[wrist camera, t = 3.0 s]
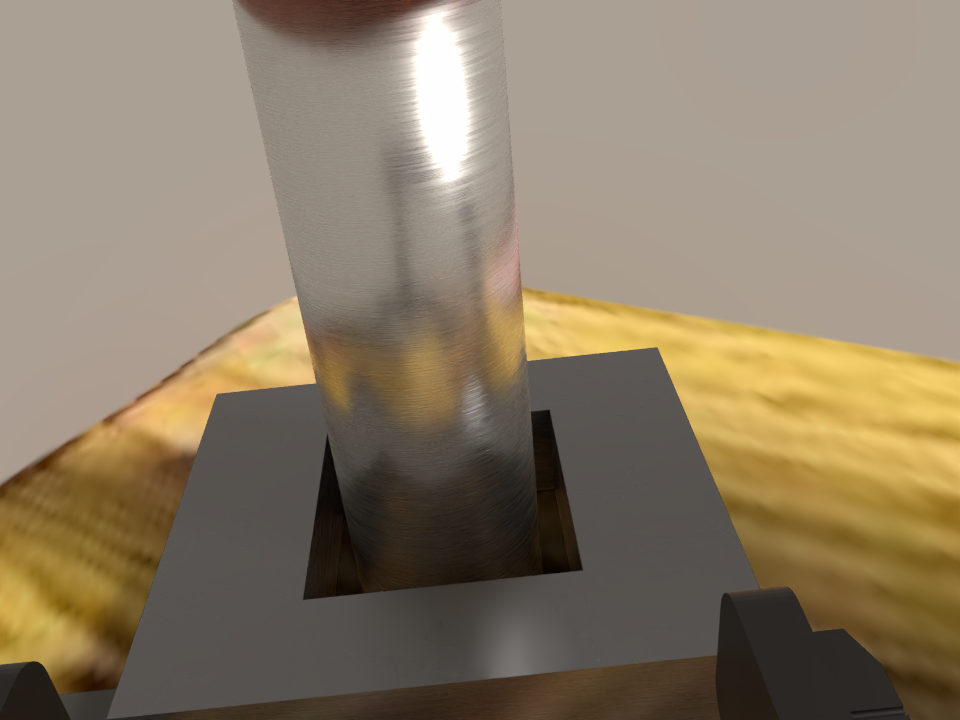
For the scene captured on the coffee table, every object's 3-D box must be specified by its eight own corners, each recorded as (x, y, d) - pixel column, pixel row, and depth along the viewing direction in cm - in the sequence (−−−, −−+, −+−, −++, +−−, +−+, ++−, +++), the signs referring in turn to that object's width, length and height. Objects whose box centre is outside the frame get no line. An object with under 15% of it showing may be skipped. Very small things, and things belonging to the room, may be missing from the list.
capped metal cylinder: (547, 495, 28) (505, -143, 19) (575, 651, 23) (536, -119, 14) (352, 515, 28) (216, -112, 19) (336, 676, 23) (142, -77, 14)
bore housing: (656, 424, 31) (657, 347, 29) (773, 739, 20) (785, 647, 19) (238, 468, 31) (216, 394, 29) (147, 805, 20) (106, 719, 19)
